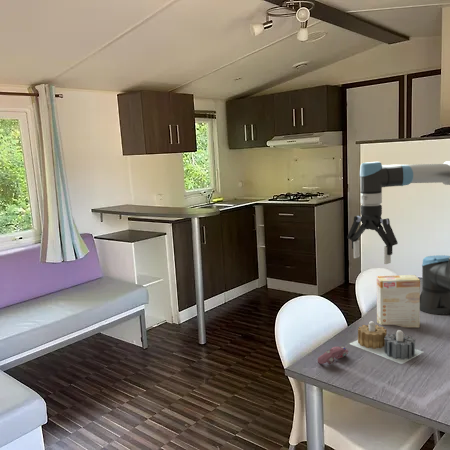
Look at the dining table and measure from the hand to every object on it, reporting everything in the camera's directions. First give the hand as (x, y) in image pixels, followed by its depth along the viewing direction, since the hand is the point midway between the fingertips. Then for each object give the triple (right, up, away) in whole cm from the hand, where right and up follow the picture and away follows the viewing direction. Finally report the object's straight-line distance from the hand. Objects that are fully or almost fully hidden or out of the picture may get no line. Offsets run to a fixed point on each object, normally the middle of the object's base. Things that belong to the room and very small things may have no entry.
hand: (371, 260), depth 171 cm
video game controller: (-19, -33, -18) cm, 42 cm away
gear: (+4, -30, -17) cm, 35 cm away
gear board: (+1, -31, -12) cm, 33 cm away
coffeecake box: (+14, -27, +10) cm, 32 cm away
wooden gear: (-2, -29, -8) cm, 30 cm away
